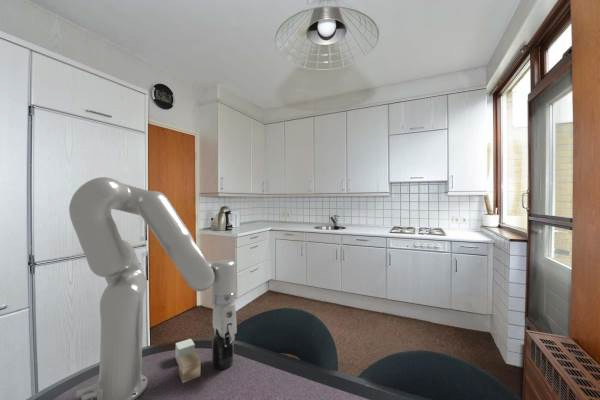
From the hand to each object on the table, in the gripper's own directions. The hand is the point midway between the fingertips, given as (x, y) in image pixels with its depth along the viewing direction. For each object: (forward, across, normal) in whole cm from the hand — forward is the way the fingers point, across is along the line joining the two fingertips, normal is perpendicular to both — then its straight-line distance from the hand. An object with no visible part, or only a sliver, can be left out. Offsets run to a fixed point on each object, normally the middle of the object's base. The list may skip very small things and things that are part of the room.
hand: (223, 352), depth 80 cm
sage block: (+4, +11, +9) cm, 15 cm away
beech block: (+4, +1, +10) cm, 11 cm away
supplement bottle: (+4, 0, 0) cm, 4 cm away
